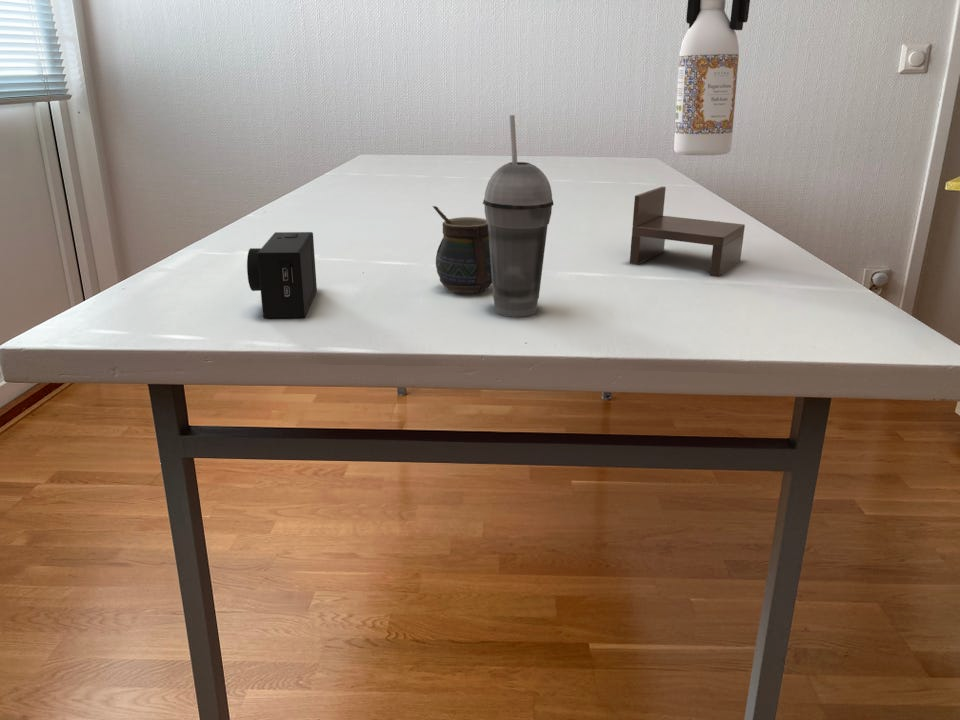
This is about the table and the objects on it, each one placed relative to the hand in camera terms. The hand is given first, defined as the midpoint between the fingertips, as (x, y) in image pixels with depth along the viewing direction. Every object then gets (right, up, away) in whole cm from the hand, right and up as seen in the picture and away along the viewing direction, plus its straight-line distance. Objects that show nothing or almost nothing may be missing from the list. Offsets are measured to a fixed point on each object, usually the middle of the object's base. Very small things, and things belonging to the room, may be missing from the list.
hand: (715, 28), depth 93 cm
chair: (0, -26, +12) cm, 29 cm away
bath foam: (0, -14, +5) cm, 15 cm away
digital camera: (-49, -34, -8) cm, 60 cm away
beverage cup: (-24, -35, -9) cm, 43 cm away
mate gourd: (-30, -32, -2) cm, 43 cm away
